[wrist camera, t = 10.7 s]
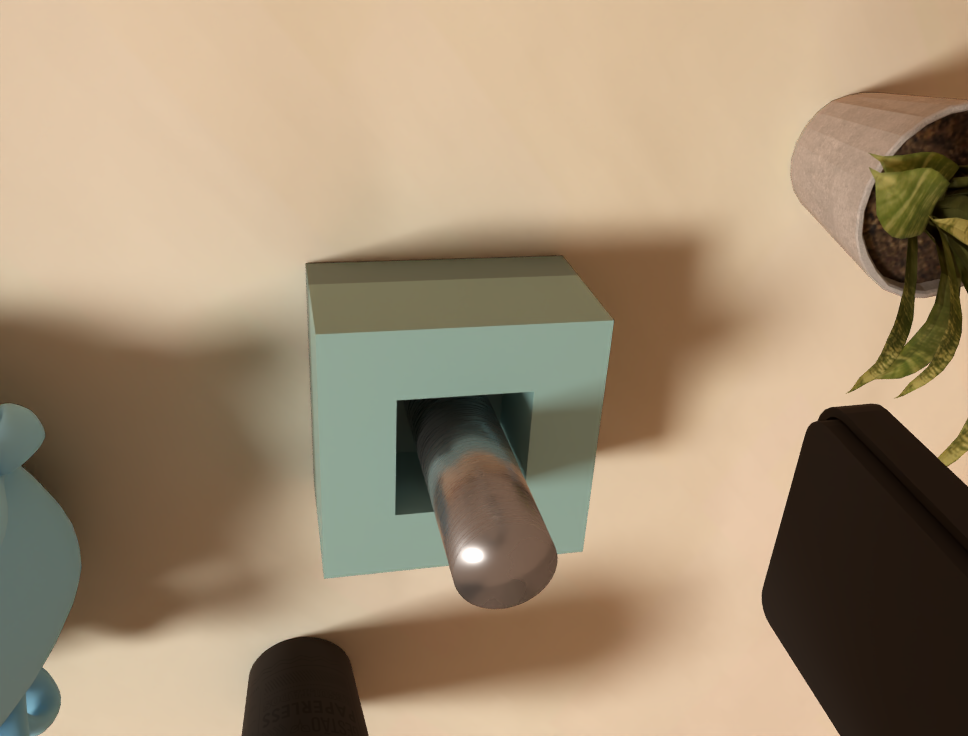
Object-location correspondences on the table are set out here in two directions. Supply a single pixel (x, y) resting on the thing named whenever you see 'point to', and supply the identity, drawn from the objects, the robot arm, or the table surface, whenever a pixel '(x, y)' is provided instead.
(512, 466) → the pin
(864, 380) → the house plant
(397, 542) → the bore block
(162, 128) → the table surface
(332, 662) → the drinking cup
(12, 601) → the decorative pot
